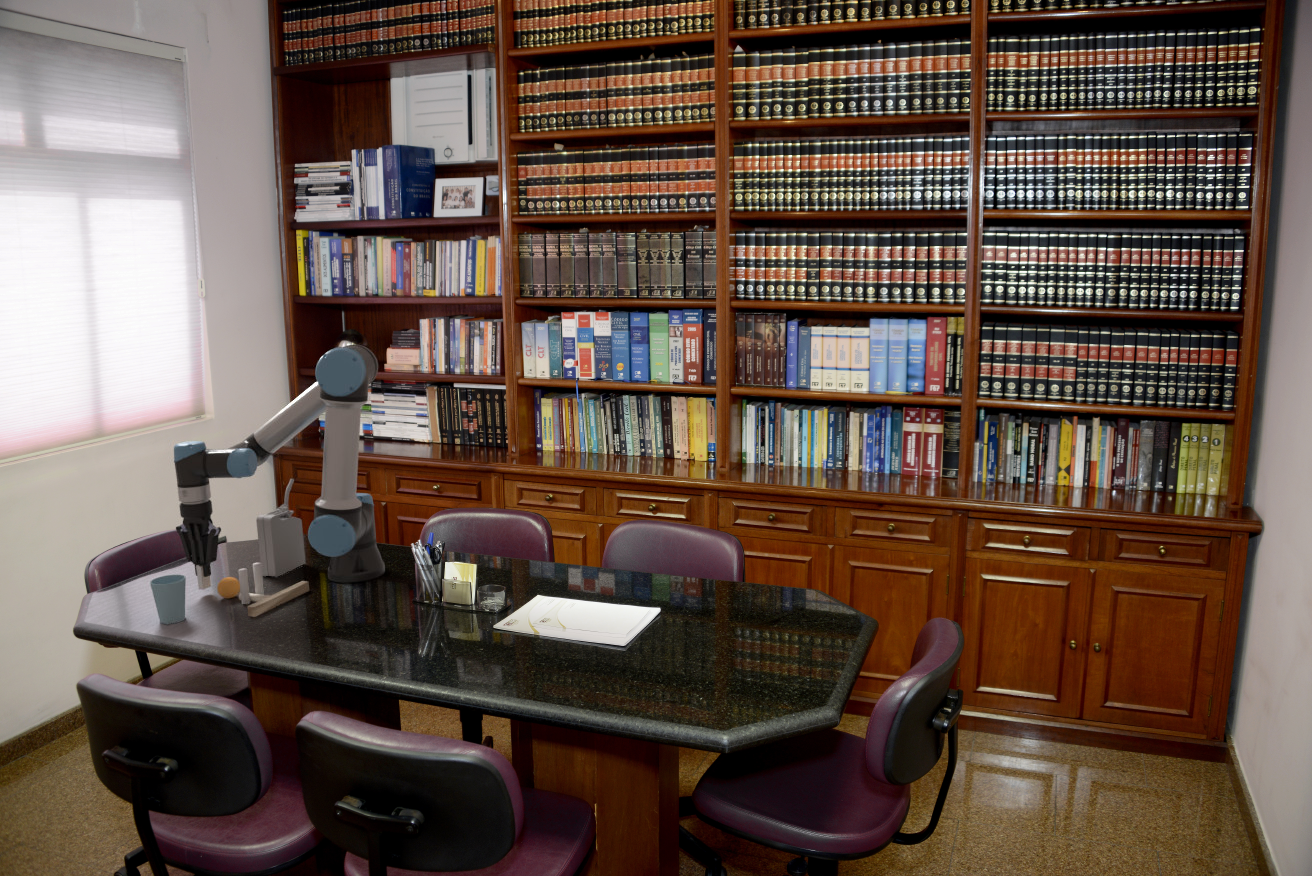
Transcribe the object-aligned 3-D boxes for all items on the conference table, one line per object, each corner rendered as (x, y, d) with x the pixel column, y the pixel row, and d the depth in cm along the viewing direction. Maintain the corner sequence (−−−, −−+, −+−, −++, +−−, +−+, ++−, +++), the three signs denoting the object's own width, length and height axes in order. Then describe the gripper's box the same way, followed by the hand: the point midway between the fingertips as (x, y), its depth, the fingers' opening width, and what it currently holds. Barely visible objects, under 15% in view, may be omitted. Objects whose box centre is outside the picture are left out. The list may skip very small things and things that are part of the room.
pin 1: (252, 602, 239) (248, 568, 237) (246, 604, 237) (242, 571, 235) (245, 601, 239) (242, 568, 238) (240, 604, 237) (236, 570, 236)
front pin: (245, 595, 242) (273, 598, 239) (241, 601, 241) (269, 604, 238) (241, 590, 241) (270, 593, 238) (237, 596, 239) (266, 599, 237)
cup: (189, 622, 225) (184, 581, 223) (153, 628, 222) (148, 586, 220) (191, 612, 232) (186, 572, 230) (156, 617, 229) (151, 577, 227)
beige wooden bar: (309, 590, 247) (308, 581, 246) (255, 616, 228) (254, 607, 228) (303, 590, 247) (302, 580, 247) (248, 616, 229) (247, 606, 228)
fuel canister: (297, 560, 274) (289, 477, 269) (311, 561, 272) (304, 478, 268) (261, 576, 259) (252, 489, 255) (275, 578, 258) (267, 490, 254)
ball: (231, 570, 244) (226, 587, 246) (215, 577, 239) (210, 594, 241) (247, 580, 243) (242, 597, 245) (231, 587, 238) (226, 605, 240)
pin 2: (265, 595, 243) (262, 562, 242) (260, 598, 241) (257, 565, 240) (259, 595, 244) (256, 562, 242) (254, 597, 242) (250, 564, 241)
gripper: (164, 502, 239) (174, 590, 244) (204, 505, 235) (213, 594, 239) (186, 496, 246) (196, 581, 251) (226, 498, 242) (235, 585, 246)
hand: (204, 587), depth 245 cm, fingers closed
